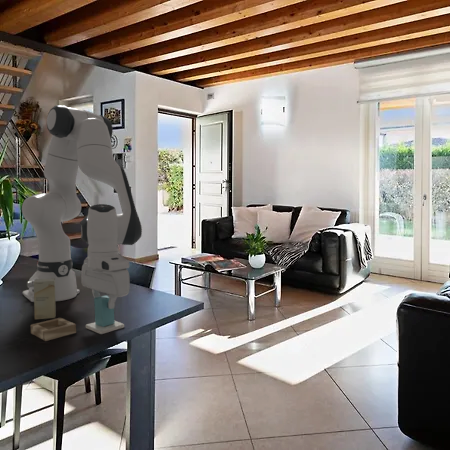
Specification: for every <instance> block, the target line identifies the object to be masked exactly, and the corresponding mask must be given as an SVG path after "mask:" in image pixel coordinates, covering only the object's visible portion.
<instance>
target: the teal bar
mask: <svg viewBox="0 0 450 450" xmlns="http://www.w3.org/2000/svg"><path fill="white" fill-rule="evenodd" d="M100 296H101V297H96V298H94V297H93V303H94V322H95V324H96V325H99V326H102V327H104V326H108V325H111V324H115V321H116V320H115V307H114V308H113V309H109V308H107V302H109V297H108V295H100Z"/></svg>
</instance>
